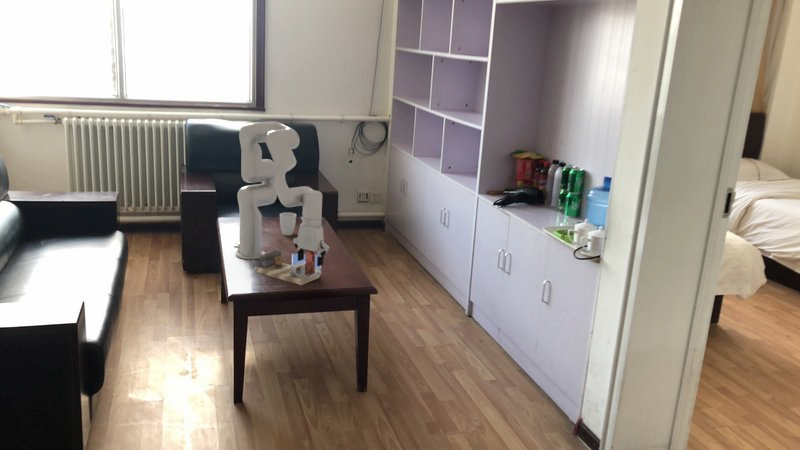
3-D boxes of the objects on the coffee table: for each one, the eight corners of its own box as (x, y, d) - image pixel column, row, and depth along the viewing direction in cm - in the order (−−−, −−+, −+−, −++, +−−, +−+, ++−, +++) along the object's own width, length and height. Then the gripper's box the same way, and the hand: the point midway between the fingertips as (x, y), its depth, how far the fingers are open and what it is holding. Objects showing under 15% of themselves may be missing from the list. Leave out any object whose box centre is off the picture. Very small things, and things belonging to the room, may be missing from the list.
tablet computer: (291, 256, 306) (291, 253, 306) (319, 256, 308) (320, 253, 308) (291, 270, 288) (291, 267, 288) (321, 270, 290) (321, 268, 290)
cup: (298, 235, 336) (299, 215, 333) (283, 237, 332) (284, 217, 329) (291, 231, 342) (292, 211, 340) (276, 232, 338) (277, 213, 335)
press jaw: (290, 274, 274) (290, 247, 271) (303, 269, 282) (304, 242, 279) (307, 279, 270) (308, 252, 267) (321, 274, 278) (322, 247, 275)
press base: (257, 272, 281) (257, 256, 279) (275, 265, 291) (276, 249, 289) (301, 285, 270) (302, 268, 268) (319, 277, 280) (320, 261, 279)
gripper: (288, 219, 270) (287, 260, 274) (323, 227, 262) (322, 269, 266) (300, 216, 276) (299, 256, 281) (335, 224, 268) (333, 265, 273)
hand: (310, 262), depth 274 cm, fingers open, 9 cm apart
